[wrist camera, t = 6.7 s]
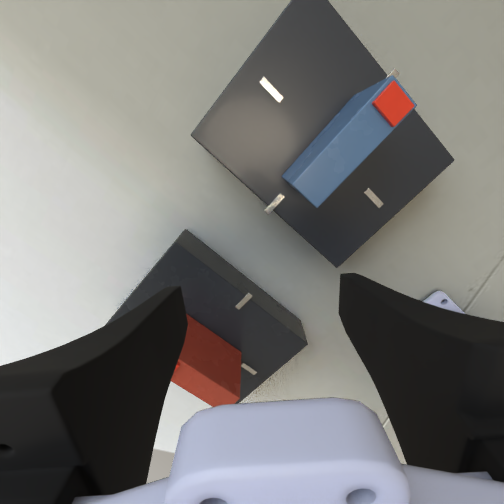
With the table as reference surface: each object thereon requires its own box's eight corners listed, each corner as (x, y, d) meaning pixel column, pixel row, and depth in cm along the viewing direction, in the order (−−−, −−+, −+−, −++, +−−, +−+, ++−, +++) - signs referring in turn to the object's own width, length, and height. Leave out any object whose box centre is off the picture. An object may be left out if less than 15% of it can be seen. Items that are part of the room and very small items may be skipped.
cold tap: (300, 195, 16) (318, 209, 12) (281, 176, 15) (292, 185, 11) (373, 117, 14) (421, 104, 10) (354, 94, 14) (396, 72, 10)
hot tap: (241, 351, 20) (240, 402, 16) (227, 364, 20) (222, 417, 16) (181, 309, 18) (163, 353, 14) (167, 324, 19) (146, 370, 15)
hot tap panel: (303, 317, 22) (312, 342, 19) (229, 384, 25) (226, 415, 22) (188, 225, 19) (177, 238, 16) (116, 310, 22) (96, 335, 19)
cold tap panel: (427, 154, 18) (462, 155, 15) (321, 255, 20) (333, 273, 17) (302, 2, 15) (315, -34, 12) (196, 142, 17) (185, 140, 14)
